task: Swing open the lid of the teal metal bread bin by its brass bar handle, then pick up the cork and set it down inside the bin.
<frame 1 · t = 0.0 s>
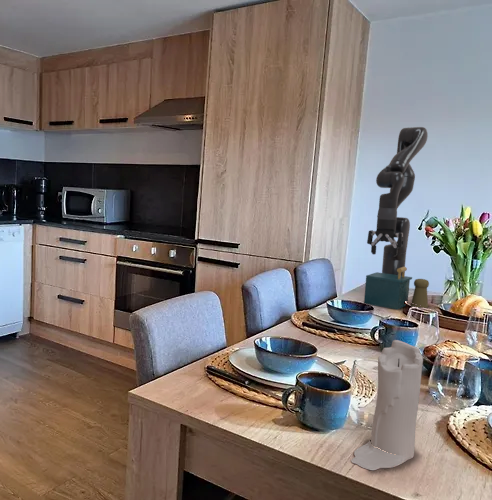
hand: (383, 255, 220), 17 cm above the table, tool pointing down, fingers open, 8 cm apart
candle: (381, 456, 91), on the table
cork: (419, 306, 201), on the table
bread bin: (385, 304, 203), on the table
bin lid: (389, 272, 201), point 13 cm above the table, hinge at 0.0°
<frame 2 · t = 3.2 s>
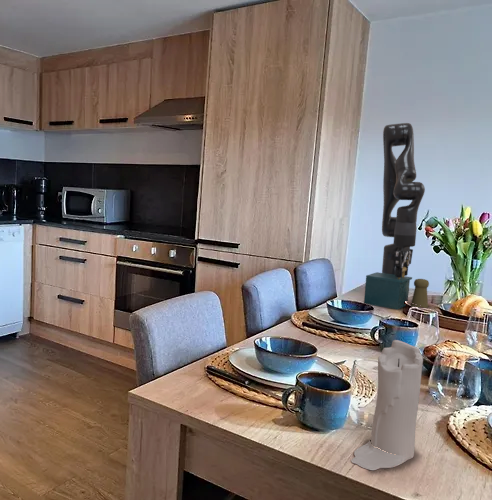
hand: (401, 276, 198), 12 cm above the table, tool pointing down, fingers closed on bin lid, 5 cm apart
bin lid: (389, 272, 201), point 13 cm above the table, hinge at -0.1°, touching gripper
everything else where it was.
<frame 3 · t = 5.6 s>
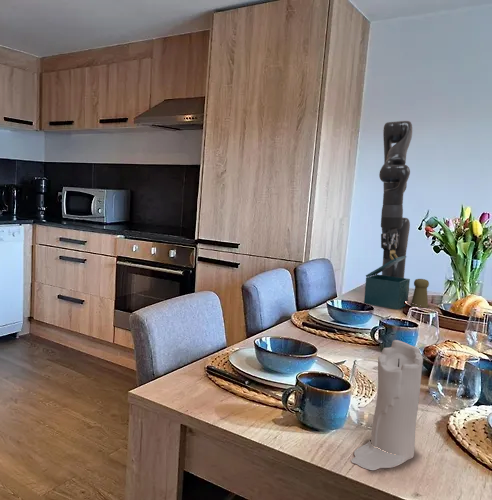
hand: (389, 258, 201), 19 cm above the table, tool pointing down, fingers closed on bin lid, 5 cm apart
bin lid: (383, 261, 202), point 17 cm above the table, hinge at 38.2°, touching gripper
everything else where it was.
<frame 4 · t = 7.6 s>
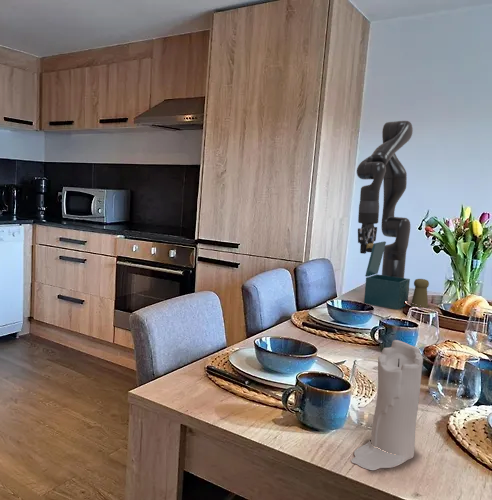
hand: (366, 252, 207), 20 cm above the table, tool pointing down, fingers closed on bin lid, 5 cm apart
bin lid: (370, 257, 206), point 18 cm above the table, hinge at 80.4°, touching gripper
everything else where it was.
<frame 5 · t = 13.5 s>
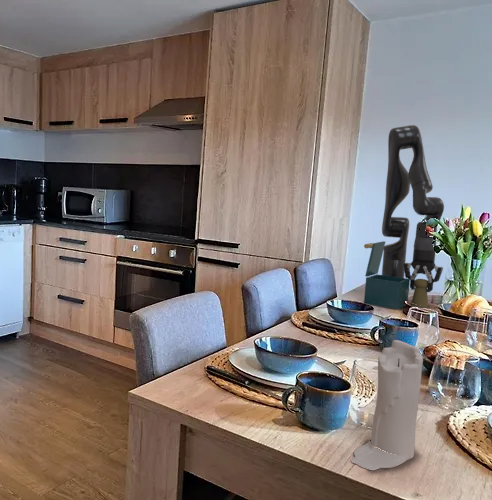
hand: (420, 290, 200), 6 cm above the table, tool pointing down, fingers closed on cork, 5 cm apart
cork: (419, 306, 201), on the table, touching gripper
bin lid: (370, 257, 206), point 18 cm above the table, hinge at 81.3°
everything else where it was.
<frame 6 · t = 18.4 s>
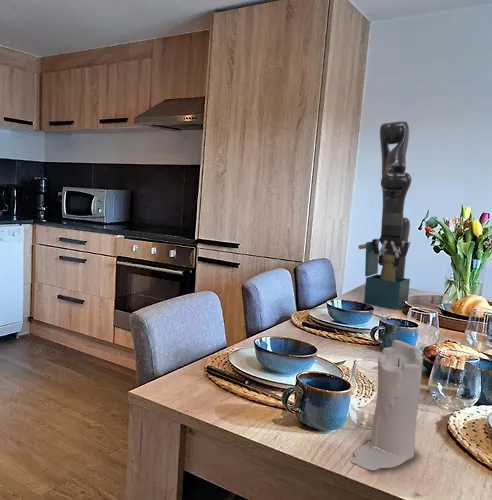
hand: (388, 265, 201), 16 cm above the table, tool pointing down, fingers closed on cork, 5 cm apart
cork: (387, 282, 202), point 9 cm above the table, touching gripper
bin lid: (366, 257, 207), point 18 cm above the table, hinge at 92.9°
everything else where it was.
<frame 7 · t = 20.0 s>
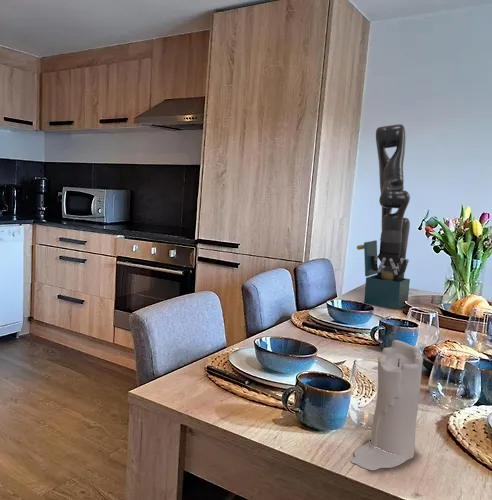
hand: (387, 282, 202), 9 cm above the table, tool pointing down, fingers closed on cork, 5 cm apart
cork: (386, 298, 203), point 2 cm above the table, touching gripper
bin lid: (365, 258, 207), point 18 cm above the table, hinge at 96.1°
everything else where it was.
when the fingers open (9 cm above the table, at t = 23.6 s): cork drops 2 cm, resting on bread bin.
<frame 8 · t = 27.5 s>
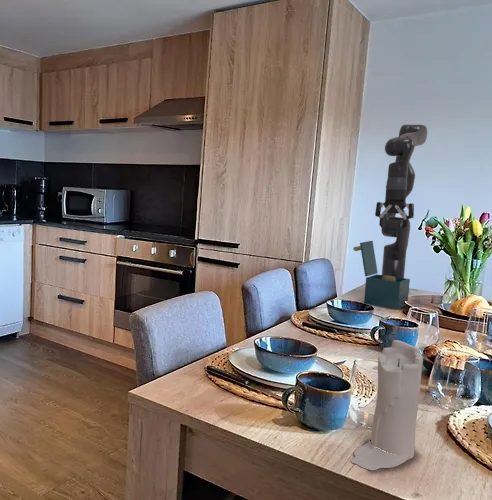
hand: (392, 228, 208), 30 cm above the table, tool pointing down, fingers open, 8 cm apart
cork: (386, 303, 203), point 1 cm above the table, touching bread bin
bin lid: (363, 258, 208), point 17 cm above the table, hinge at 103.2°
everything else where it was.
at the end: bin lid at +103° (first picture: +0°); cork inside the target area in the bread bin (0.4 cm from its centre), point 0.5 cm above the bread bin's base; cork tilted 0° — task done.
